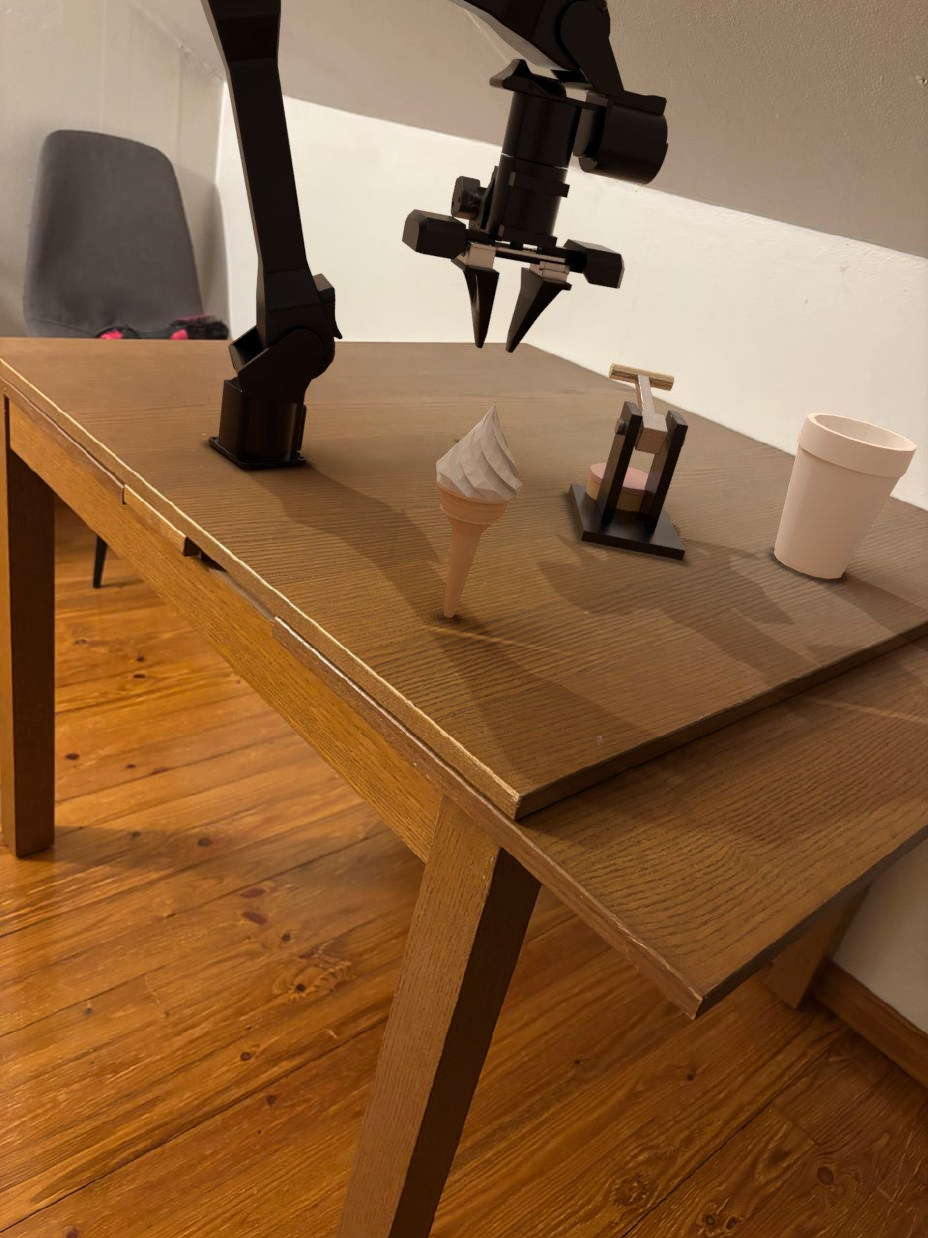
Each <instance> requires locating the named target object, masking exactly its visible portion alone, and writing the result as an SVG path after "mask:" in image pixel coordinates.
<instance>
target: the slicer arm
mask: <svg viewBox="0 0 928 1238" xmlns="http://www.w3.org/2000/svg"><path fill="white" fill-rule="evenodd" d="M608 379H611V380H615V381H619V382H625V383H630V384H634V387H635V394H636V400H637V407H638V409H639V410H640V412H641V414H642V416H643V419H642V422H641V426H640V429H639V432H638V436H637V439H636V442H635V446H634V451H637V452H642V453H647V454H652V455H655V454H656V455H659V454H660V452H661V449H662V446H663V444H664V441H665V439H666V436H667V434H668V429H667V424H666V415H664V414H659V413H656V411H655V406H654V400H653V394H652V388H654V389H656V390H657V389H658V390H662V391H667V392H671V391H672V390H673V387H674V383H675V376H674V375H672V374H666V373H661V372H657V371H652V370H648V369H644V368H640V367H634V366H630V365H624V364H621V363H616V362H612V363H611V364H610V367H609V369H608Z"/></svg>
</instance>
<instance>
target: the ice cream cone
mask: <svg viewBox="0 0 928 1238" xmlns="http://www.w3.org/2000/svg"><path fill="white" fill-rule="evenodd" d="M496 406H497V405H496V403H494V404H493V405H492V406H491V408H490V409H489V410H488V411H487V413H486V414H485V415H484V416H483V417H482V418H481V420H480V421H478V423H477V424H476V425H475V426H474V427H473V428H472V429H471V430H470V431H469V432H468V433H466V434H465V435H464V436H462V438H461V439H460V440H459V441H458V442H457V443H456V444H454V445H453V446H452V447H451V448H450V449H449V450H448V451H447V452H446V453H445V454H443V456H441V458H439V459H438V460H436V461H435V467H436V468H435V469H436V470H435V471H436V478H435V483H436V484H437V486H438V487H439V489H438V492H439V499H440V504H439V508H440V510H441V511H442V512H443V513H444V515H445V516H446V518H447V520H448V522H449V524H450V526H451V531H450V532H451V533H450V538H449V550H448V556H447V571H446V583H445V595H444V605H443V615H444V616H445V618H448V619H451V618H453V617H454V616H455V614H456V612H457V608H458V605H459V602H460V599H461V596H462V593H463V591H464V589H465V585H466V582H467V578H468V576H469V573H470V570H471V568H472V565H473V563H474V560H475V556H476V553H477V550H478V547H479V543H480V540H481V537H482V534H483V533H484V532H485V531H487V530H488V528H490V527H491V526H493V525H494V524H497V523H499V522H501V521H502V516H503V515H504V514H505V512H506V509H507V508H508V507H509V505H510V503H511V502H512V501H514V500H516V498H517V497H518V495H519V493H520V492H521V489H522V487H523V483H522V482H521V481H520V480H519V479H518V478H517V477H519V476H520V471H519V469H518V467H517V464H516V461H515V459H514V456H513V454H512V452H511V451H510V449H509V445H508V442H507V439H506V436H505V434H504V431H503V429H502V424H501V421H500V418H499V414H498V411H497V407H496Z"/></svg>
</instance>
